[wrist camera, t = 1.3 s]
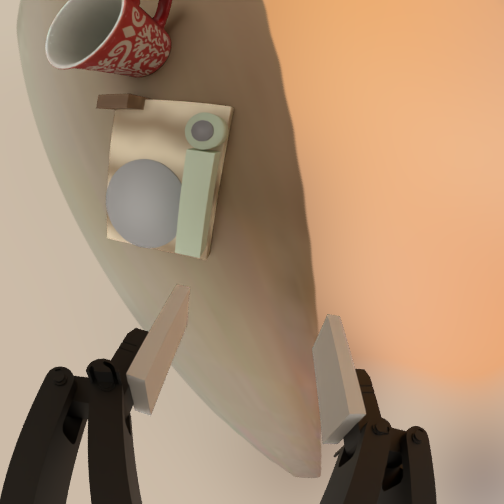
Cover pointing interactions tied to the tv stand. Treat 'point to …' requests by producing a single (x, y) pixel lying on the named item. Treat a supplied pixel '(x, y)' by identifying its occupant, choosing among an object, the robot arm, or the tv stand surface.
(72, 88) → the tv stand surface
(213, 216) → the board
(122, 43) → the mug
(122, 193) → the seat pad
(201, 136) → the leg
